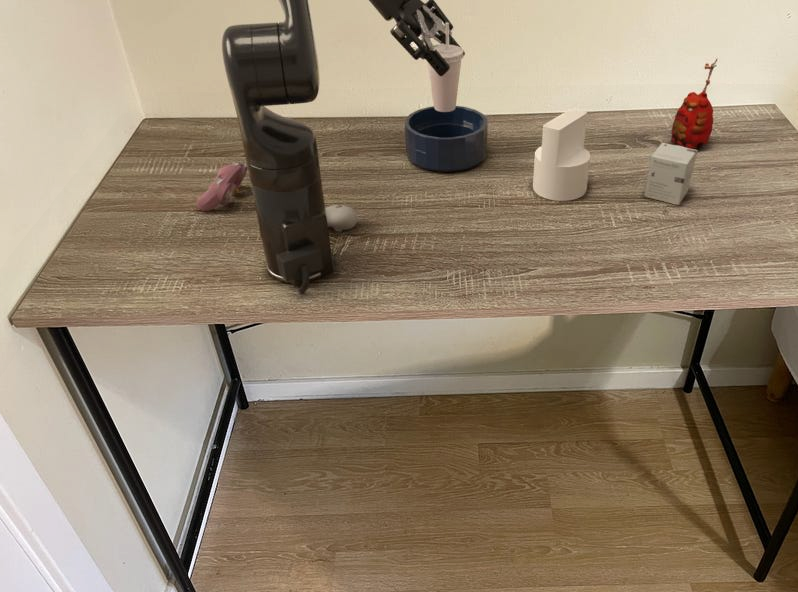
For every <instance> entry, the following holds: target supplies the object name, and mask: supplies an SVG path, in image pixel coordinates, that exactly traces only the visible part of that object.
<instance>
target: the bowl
mask: <svg viewBox="0 0 798 592" xmlns="http://www.w3.org/2000/svg"><path fill="white" fill-rule="evenodd" d="M404 134H405V135H404V136H405V137H404V138H405V139H404V140H405V155H406V157H407V158H408V160H409V161H410V162H411V163H413V164H414V165H416V166H418V167H420V168H423V169H425V170H428V171H433V172H440V173H452V172H453V173H455V172H461V171H465V170H468V169H470V168H472V167H474V166H477V165H478V164H479V163H481V162H483V161H484V160H485V159H486V157H487V156H488V117H486V115H485V114H484V113H482V112H481V111H479V110H477V109H474V108H470V107H468V106H464V105H463V106H462V105H456V108H455V110H453V111H450V112H440V111H437V110H435V109H434V105H433V106H426V107H423V108H420V109H417V110H415V111H413V112H411V113H410V114H408V116H406V117H405V119H404Z"/></svg>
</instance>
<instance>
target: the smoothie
mask: <svg viewBox="0 0 798 592" xmlns="http://www.w3.org/2000/svg"><path fill="white" fill-rule="evenodd" d="M433 47H434V50H435V49H436V50H437V51H438V53H439V54H440V55H441V56H442V57H443V59H444V60H445V61H446V62H447V63H448V65H449V66H450V69H449V70H448V71H447V72H446V73H445V74H444V75H443V76H439V75H438V74H437V72H436V71H435V70H434V69H433V68H432V66H431V65H430V64H429V63H428V62H427V68H428V74H429V82H430V87H431V95H432V101H433V106H434V109H435V110H437V111H440V112H450V111H453V110H455V108H456V106H457V99H458V91H459V84H460V83H459V82H460V75H461V69H462V68H461V67H462V60H463V59H464V57H465V55H464V56H463V51H464V49H463V48H462V47H461V46H460V47H461V48H460V47H458V46H455V45H449V23H448V22H446V44H440V43H439V44H433ZM434 50H433V51H434Z"/></svg>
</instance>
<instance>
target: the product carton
mask: <svg viewBox="0 0 798 592" xmlns="http://www.w3.org/2000/svg"><path fill="white" fill-rule="evenodd" d="M697 155H698V149H696V148H695V149H690V148H685V147H682V146H678V145H677V144H670V143H666V142H661V143H660V145H659V146H658V147H657V149H656V150H655V151H654V152H653V154H652V155H651V157H650V163H649V167H648V173H647V178H646V183H645V190H644V193H643V196H644V197H645V198H647V199H652V200H656V201H661V202H665V203H668V204H672V205H675V206H679V205H680V204H681V202H682V201H683V199H684V198H685V196H686V194H687V193H688V191H689V189H690V185H691V181H692V176H693V173H694V169H695V163H696V159H697Z"/></svg>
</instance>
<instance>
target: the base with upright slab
mask: <svg viewBox="0 0 798 592" xmlns="http://www.w3.org/2000/svg"><path fill="white" fill-rule="evenodd" d="M587 122H588V112H587V111H585V110H582V109H580V108H579V109H578V108H573V107H570V108H569V109H568V110H565V111H564V112H563V113H561V114H559V115H557V116H556V117H554V118H552V119H550V120H549V121H547V122H546V123H544V124H543V125H542V138H541V146H539V147H538V148H536V149H535V152H534V161H533V175H532V176H533V177H532V189H533V191H534V193H535V194H536V195H538V196H539V197H541V198H544V199H546V200H550V201H557V202H567V201H573V200H578V199H580V198H581V197H583V196H584V195H585V194H586V193H587V189H588V181H589V171H590V162H591V153H590V152H589V150H588V149H587V148H585V139H586V138H585V137H586V131H587V130H586V129H587Z"/></svg>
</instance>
